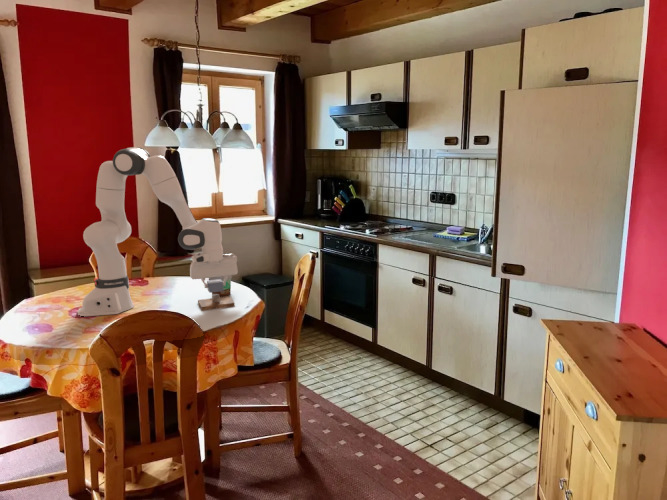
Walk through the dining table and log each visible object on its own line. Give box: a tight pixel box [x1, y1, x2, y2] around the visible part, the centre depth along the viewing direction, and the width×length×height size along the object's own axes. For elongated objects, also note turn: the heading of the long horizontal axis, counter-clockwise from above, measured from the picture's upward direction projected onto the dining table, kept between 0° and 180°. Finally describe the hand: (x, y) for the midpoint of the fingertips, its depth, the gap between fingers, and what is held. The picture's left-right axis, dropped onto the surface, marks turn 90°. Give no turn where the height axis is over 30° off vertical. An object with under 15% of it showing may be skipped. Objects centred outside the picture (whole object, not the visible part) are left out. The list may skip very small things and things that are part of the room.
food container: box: [208, 275, 233, 297], centre depth 251 cm, size 12×6×10 cm, turn 143°
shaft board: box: [197, 294, 236, 311], centre depth 236 cm, size 14×12×4 cm
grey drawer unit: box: [206, 279, 224, 294], centre depth 234 cm, size 6×6×4 cm
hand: (215, 286), depth 235 cm, fingers closed on grey drawer unit, 6 cm apart
